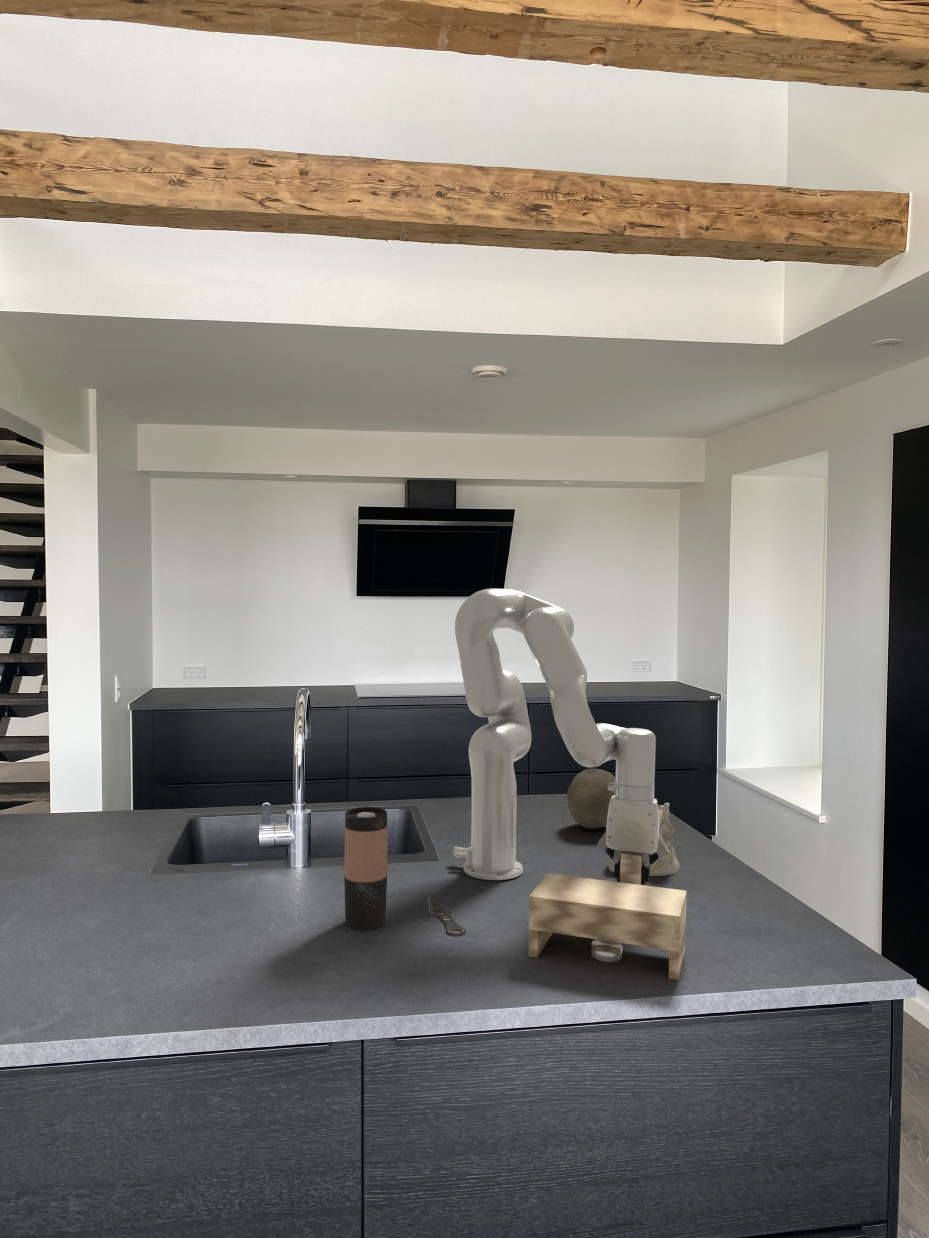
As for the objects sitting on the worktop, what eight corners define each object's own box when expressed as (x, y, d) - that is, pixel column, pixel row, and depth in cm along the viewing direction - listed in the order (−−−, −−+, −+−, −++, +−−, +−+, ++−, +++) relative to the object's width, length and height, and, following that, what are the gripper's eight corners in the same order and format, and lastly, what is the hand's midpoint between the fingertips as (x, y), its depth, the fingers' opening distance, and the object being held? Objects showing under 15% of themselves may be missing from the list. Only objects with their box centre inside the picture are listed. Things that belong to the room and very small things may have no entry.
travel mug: (393, 917, 156) (394, 809, 155) (375, 933, 149) (376, 819, 148) (355, 912, 158) (356, 805, 158) (336, 927, 151) (337, 815, 150)
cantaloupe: (554, 828, 216) (555, 768, 215) (589, 818, 225) (590, 761, 225) (598, 840, 205) (599, 778, 205) (633, 829, 215) (635, 770, 214)
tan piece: (595, 931, 150) (596, 886, 150) (617, 886, 173) (618, 847, 172) (629, 936, 148) (631, 890, 148) (647, 890, 171) (649, 850, 170)
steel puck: (588, 960, 140) (589, 948, 140) (594, 948, 144) (594, 936, 144) (619, 965, 138) (619, 953, 138) (624, 952, 143) (624, 941, 143)
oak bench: (528, 956, 140) (528, 896, 140) (546, 928, 152) (547, 873, 151) (678, 980, 132) (679, 916, 132) (685, 949, 144) (686, 890, 144)
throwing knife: (447, 938, 148) (447, 935, 148) (417, 898, 167) (417, 895, 167) (471, 935, 149) (471, 932, 149) (438, 896, 168) (438, 893, 168)
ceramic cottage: (676, 854, 195) (673, 789, 194) (682, 881, 179) (679, 810, 178) (607, 854, 198) (603, 790, 197) (607, 880, 182) (603, 811, 181)
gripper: (588, 791, 168) (585, 883, 169) (676, 800, 163) (672, 895, 163) (595, 783, 175) (593, 871, 176) (679, 791, 170) (676, 883, 170)
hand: (631, 882), depth 170 cm, fingers closed on tan piece, 4 cm apart
